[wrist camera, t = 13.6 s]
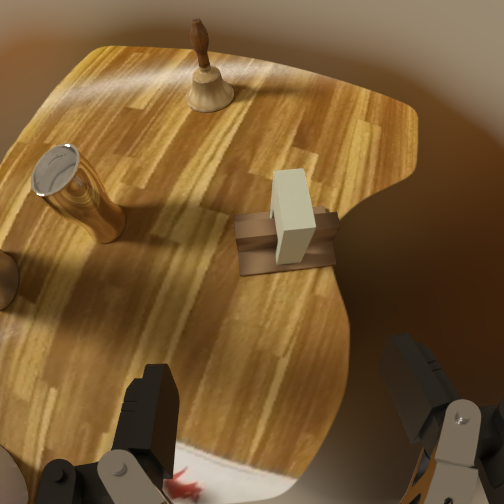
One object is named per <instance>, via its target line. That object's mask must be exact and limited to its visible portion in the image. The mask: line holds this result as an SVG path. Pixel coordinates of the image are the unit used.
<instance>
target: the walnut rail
mask: <svg viewBox="0 0 504 504" xmlns="http://www.w3.org/2000/svg"><path fill="white" fill-rule="evenodd" d="M312 209H313V214H314V219H315V224H316V229H315V231H314V234H313V236H312V238H311V240H310V243H309V245H308V247H307V250H306V252H305V254H304V256H303V259H302V261H301V262H298V263H289V264H281V265H277V263H276V250H277V244H278V237H277V230H276V224H275V218H270V211H269V212H260V213H250V214H241V215H234V217H235V222H234V226H235V236H236V243H237V248H238V256H239V266H240V275H241V276H248V275H257V274H266V273H275V272H283V271H292V270H300V269H308V268H316V267H325V266H333V265H336V258H335V253H334V248H333V243H332V241H333V239H334V238H335V236H336V234H337V233H338V231H339V229H340V223H339V219H338V214H337V212H331V213H326V210H325V206H322V207H312Z"/></svg>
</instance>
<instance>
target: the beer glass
mask: <svg viewBox="0 0 504 504" xmlns="http://www.w3.org/2000/svg"><path fill="white" fill-rule="evenodd" d="M31 186H32V189H33V191H34V192H35V193H36V194H37V195H38V196H39V197H40V198H41V199H42V201H43V202H44V203H45V204H46V205H47V206H48V207H49V208H50V209H51V210H53V211H54V212H55V213H56V214H58V215H59V216H60V217H62V218H64V219H66V220H67V221H70V222H72V223H74V224H76V225H79V226H81V227H83V228H84V229H86V230H87V232H88V233H89V235H90V236H91V238H92V239H93V240H94V241H96V242H98V243H109V242H112V241H114V240H115V239H116V238H118V237H119V236H120V234H121V233H122V231H123V229H124V227H125V223H126V216H125V213H124V211H123V209H122V208H121V207H120V206H118V205H117V204H115V203H113V202H112V201H111V199H110V198H109V196H108V194H107V191H106V189H105V187H104V184H103V182H102V180H101V178H100V176H99V174H98V173H97V171H96V170H95V169H94V167H93V166H92V165H91V163H90V162H89V161H88V160H87V159H86V158H85V157H84V156H83V155H82V154H81V153H80V152H79V150H78V149H77V148H76V147H75V146H74V145H72V144H60V145H57V146H55V147H53V148H51V149H50V150H48V151H47V152H46V153H45V154H44V155H43V156H42V157H41V158H40V159H39V161H38V162H37V164H36V166H35V167H34V170H33V172H32V176H31Z"/></svg>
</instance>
